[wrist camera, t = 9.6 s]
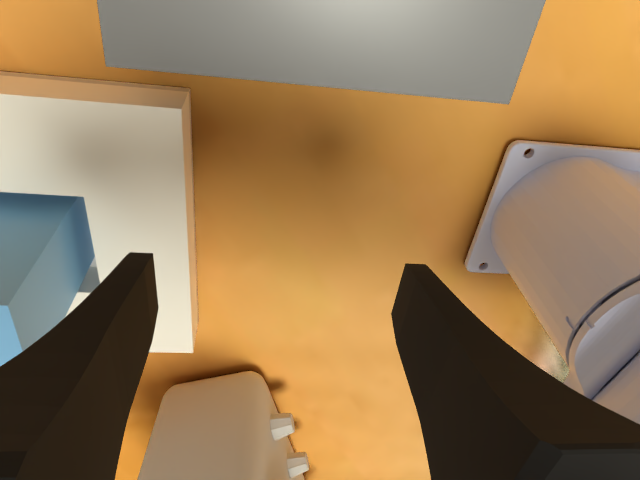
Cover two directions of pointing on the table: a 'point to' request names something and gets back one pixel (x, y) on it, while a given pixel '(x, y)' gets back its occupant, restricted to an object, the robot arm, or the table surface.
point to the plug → (39, 264)
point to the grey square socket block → (330, 42)
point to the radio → (222, 433)
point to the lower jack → (113, 178)
